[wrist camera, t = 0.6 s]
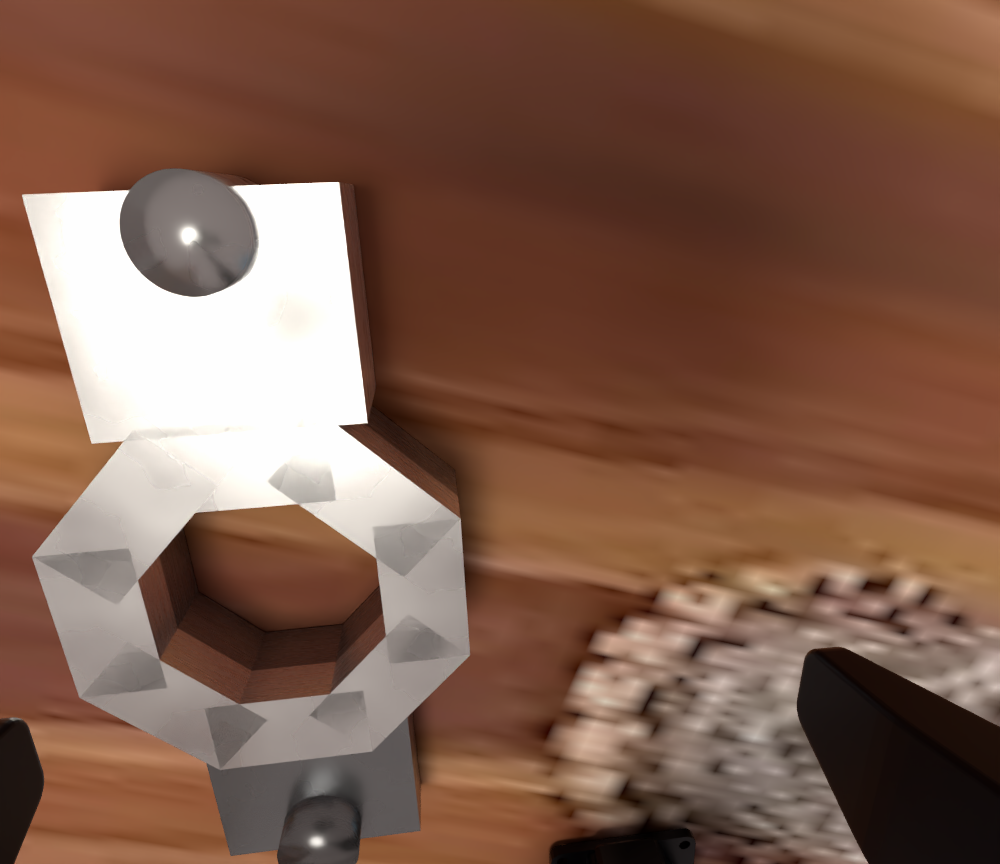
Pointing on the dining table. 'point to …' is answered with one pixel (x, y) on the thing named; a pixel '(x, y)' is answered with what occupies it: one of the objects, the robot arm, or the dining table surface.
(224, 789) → the chain end lower
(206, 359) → the chain end upper
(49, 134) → the dining table surface
